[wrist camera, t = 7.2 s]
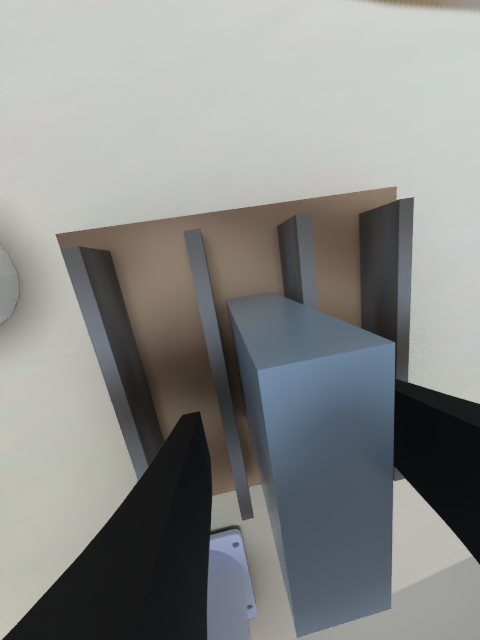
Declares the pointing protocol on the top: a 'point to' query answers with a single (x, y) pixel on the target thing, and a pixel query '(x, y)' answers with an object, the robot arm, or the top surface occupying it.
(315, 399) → the block
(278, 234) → the rack
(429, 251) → the top surface
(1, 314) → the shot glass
